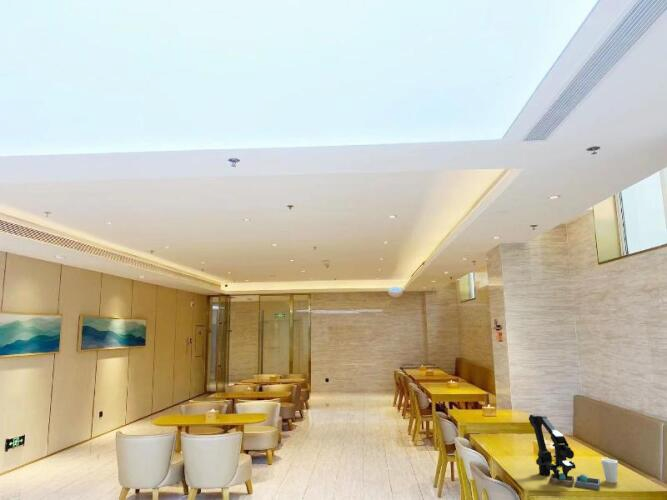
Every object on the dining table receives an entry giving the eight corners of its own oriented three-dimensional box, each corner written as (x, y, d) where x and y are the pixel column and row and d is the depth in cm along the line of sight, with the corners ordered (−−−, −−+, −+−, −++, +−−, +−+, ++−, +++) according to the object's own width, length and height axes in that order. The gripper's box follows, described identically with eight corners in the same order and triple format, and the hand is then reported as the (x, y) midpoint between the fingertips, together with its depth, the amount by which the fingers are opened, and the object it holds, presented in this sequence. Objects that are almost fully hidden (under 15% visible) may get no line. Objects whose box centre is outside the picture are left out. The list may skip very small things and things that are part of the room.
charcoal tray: (575, 486, 296) (575, 481, 297) (577, 480, 308) (576, 476, 308) (599, 490, 290) (599, 485, 290) (600, 484, 301) (599, 479, 302)
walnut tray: (549, 483, 302) (549, 478, 303) (552, 478, 313) (551, 473, 314) (572, 487, 296) (572, 481, 296) (573, 481, 307) (573, 476, 307)
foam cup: (614, 479, 311) (612, 458, 314) (622, 483, 302) (620, 462, 304) (600, 479, 311) (598, 458, 313) (608, 483, 302) (606, 462, 304)
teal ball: (557, 481, 304) (556, 473, 305) (558, 479, 308) (557, 471, 309) (565, 483, 301) (565, 474, 302) (566, 480, 306) (565, 472, 306)
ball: (579, 483, 301) (578, 474, 302) (579, 480, 306) (578, 472, 306) (587, 484, 299) (587, 476, 300) (588, 482, 303) (587, 474, 304)
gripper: (556, 459, 297) (558, 485, 295) (580, 457, 302) (582, 482, 299) (544, 454, 308) (546, 479, 306) (568, 452, 313) (570, 477, 310)
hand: (561, 479), depth 305 cm, fingers closed on teal ball, 5 cm apart
